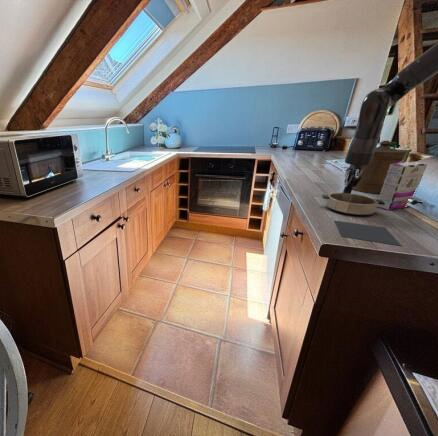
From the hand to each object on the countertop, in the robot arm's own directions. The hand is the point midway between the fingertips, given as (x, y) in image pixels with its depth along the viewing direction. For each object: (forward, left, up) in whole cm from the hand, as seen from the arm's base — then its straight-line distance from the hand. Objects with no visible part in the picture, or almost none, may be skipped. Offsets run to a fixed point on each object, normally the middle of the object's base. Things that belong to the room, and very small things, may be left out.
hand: (345, 195), depth 96 cm
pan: (0, +9, -3) cm, 9 cm away
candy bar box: (-15, -2, -3) cm, 16 cm away
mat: (0, +29, -3) cm, 29 cm away
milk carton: (-19, -46, -3) cm, 50 cm away
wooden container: (-14, -28, -3) cm, 32 cm away
